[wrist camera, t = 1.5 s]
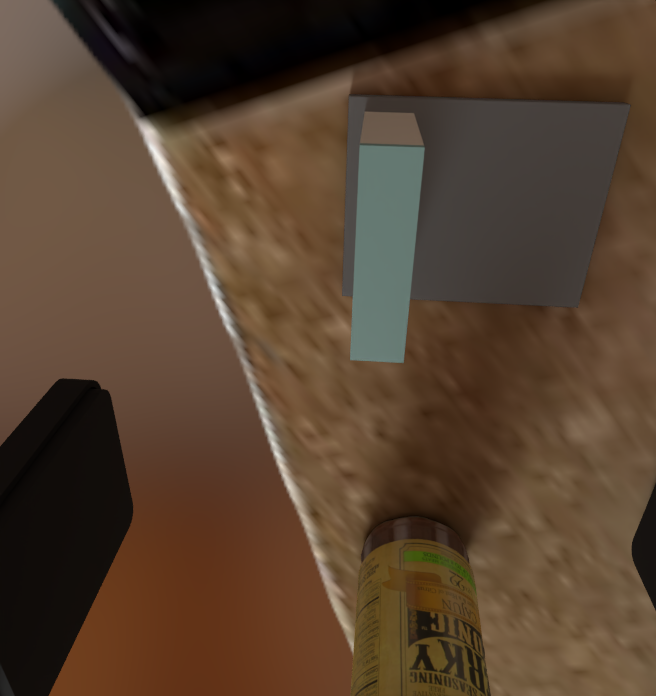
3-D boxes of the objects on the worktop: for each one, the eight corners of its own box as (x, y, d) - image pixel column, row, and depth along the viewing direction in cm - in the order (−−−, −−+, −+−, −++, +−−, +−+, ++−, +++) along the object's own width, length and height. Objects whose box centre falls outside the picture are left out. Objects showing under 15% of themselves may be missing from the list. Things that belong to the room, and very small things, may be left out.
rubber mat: (573, 301, 25) (577, 307, 25) (343, 289, 26) (342, 295, 25) (624, 102, 21) (630, 105, 21) (349, 94, 22) (349, 96, 21)
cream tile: (398, 288, 25) (403, 362, 20) (356, 285, 25) (350, 359, 20) (413, 112, 21) (424, 147, 16) (364, 111, 21) (359, 145, 16)
